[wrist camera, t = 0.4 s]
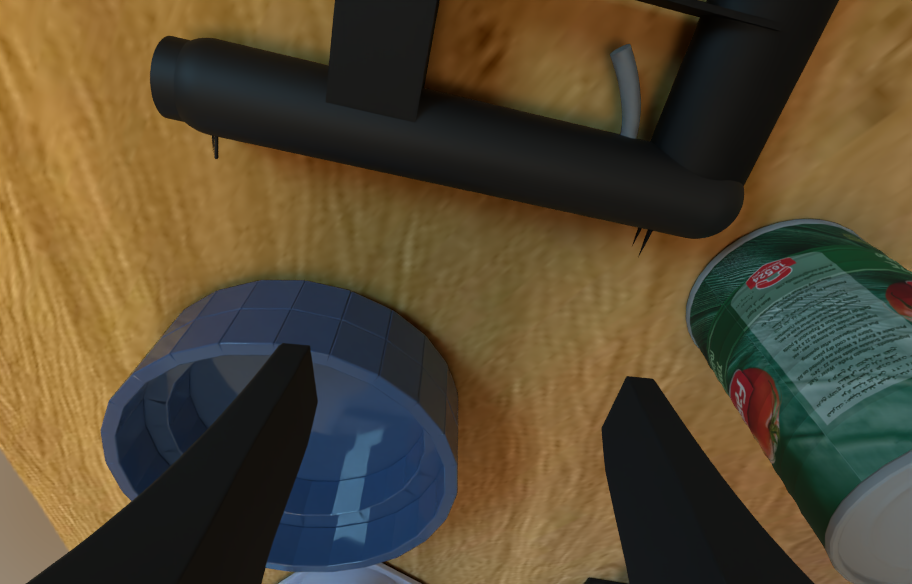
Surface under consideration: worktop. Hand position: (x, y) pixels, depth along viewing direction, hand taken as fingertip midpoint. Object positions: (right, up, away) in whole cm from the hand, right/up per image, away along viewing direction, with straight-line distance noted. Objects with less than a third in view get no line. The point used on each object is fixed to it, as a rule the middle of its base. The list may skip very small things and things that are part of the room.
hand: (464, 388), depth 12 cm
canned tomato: (+14, +2, +11) cm, 18 cm away
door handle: (+1, +13, +4) cm, 14 cm away
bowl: (-8, -3, +15) cm, 17 cm away
